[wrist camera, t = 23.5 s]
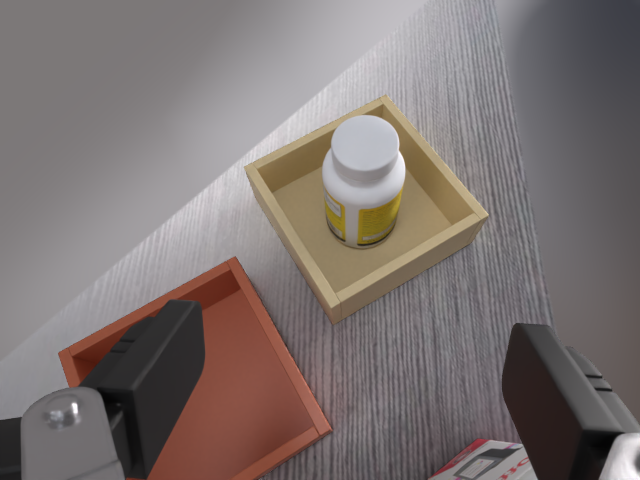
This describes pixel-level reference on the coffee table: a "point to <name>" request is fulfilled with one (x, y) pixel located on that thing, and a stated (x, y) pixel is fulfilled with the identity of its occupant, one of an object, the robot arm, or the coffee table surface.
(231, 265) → the terracotta bin
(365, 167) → the supplement bottle
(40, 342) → the coffee table surface
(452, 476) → the ink box
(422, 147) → the cream bin
